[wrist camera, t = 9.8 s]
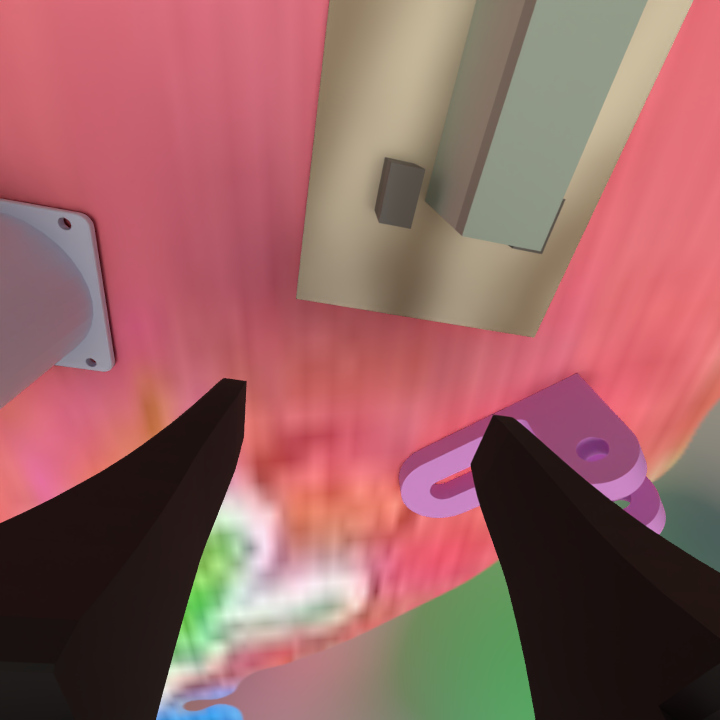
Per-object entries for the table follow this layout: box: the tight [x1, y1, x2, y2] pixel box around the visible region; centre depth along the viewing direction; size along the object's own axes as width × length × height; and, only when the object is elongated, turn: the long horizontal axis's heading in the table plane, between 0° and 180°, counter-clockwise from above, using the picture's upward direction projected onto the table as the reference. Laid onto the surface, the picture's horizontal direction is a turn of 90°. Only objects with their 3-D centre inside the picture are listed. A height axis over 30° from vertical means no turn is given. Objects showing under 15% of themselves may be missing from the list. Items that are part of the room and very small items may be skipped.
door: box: [425, 0, 648, 251], centre depth 11 cm, size 2×10×6 cm, turn 169°
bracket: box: [399, 373, 666, 534], centre depth 22 cm, size 13×6×7 cm, turn 124°
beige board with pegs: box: [296, 0, 693, 337], centre depth 13 cm, size 12×20×4 cm, turn 169°
